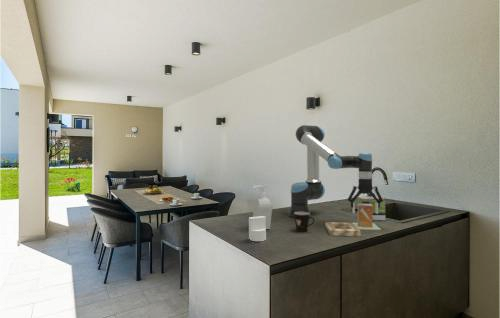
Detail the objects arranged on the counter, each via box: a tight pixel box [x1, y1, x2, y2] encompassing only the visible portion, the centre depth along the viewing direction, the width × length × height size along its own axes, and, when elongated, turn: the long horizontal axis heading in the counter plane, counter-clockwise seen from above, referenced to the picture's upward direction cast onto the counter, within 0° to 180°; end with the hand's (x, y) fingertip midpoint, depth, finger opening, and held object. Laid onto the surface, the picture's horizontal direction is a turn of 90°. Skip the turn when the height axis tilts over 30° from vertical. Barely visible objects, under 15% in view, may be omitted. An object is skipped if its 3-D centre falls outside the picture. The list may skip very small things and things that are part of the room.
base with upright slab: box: [248, 216, 267, 241], centre depth 149 cm, size 9×9×12 cm
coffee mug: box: [294, 212, 315, 233], centre depth 165 cm, size 12×9×10 cm
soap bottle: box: [251, 185, 273, 230], centre depth 170 cm, size 12×10×26 cm
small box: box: [357, 203, 374, 227], centre depth 173 cm, size 8×6×13 cm
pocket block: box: [324, 221, 362, 238], centre depth 163 cm, size 16×18×3 cm
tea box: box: [357, 196, 386, 221], centre depth 193 cm, size 15×10×15 cm
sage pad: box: [352, 222, 381, 231], centre depth 174 cm, size 14×14×1 cm
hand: (365, 213), depth 173 cm, fingers open, 13 cm apart
